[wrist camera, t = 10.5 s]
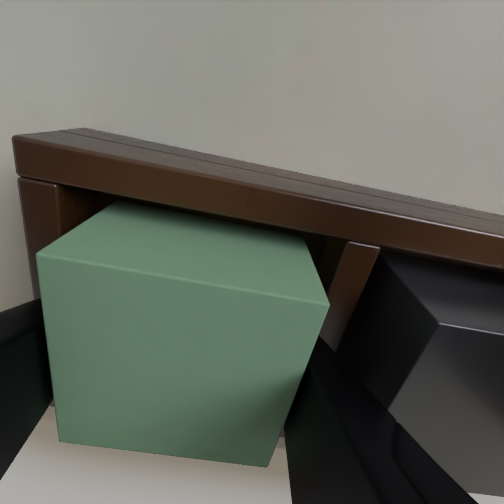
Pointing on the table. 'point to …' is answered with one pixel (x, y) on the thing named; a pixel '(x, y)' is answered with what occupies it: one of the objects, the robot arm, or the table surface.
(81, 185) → the wooden divided tray
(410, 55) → the table surface
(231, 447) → the green block
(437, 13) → the table surface
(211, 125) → the table surface
